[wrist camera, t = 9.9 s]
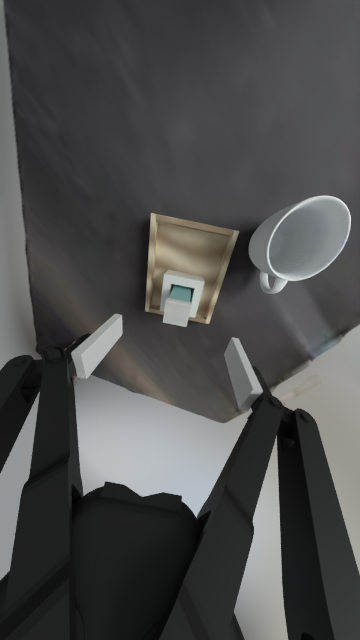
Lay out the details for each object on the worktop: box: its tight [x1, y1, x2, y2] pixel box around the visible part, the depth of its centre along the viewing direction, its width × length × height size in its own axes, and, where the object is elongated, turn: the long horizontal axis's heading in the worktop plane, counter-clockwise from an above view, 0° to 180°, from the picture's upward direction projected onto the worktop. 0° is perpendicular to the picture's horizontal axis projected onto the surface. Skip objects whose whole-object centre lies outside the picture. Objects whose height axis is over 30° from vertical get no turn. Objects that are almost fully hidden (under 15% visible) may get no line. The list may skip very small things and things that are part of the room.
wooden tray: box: [145, 213, 239, 324], centre depth 35 cm, size 22×18×4 cm
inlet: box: [160, 270, 205, 318], centre depth 35 cm, size 9×9×6 cm
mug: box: [248, 196, 351, 294], centre depth 27 cm, size 15×11×13 cm
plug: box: [163, 285, 192, 327], centre depth 29 cm, size 4×4×12 cm
